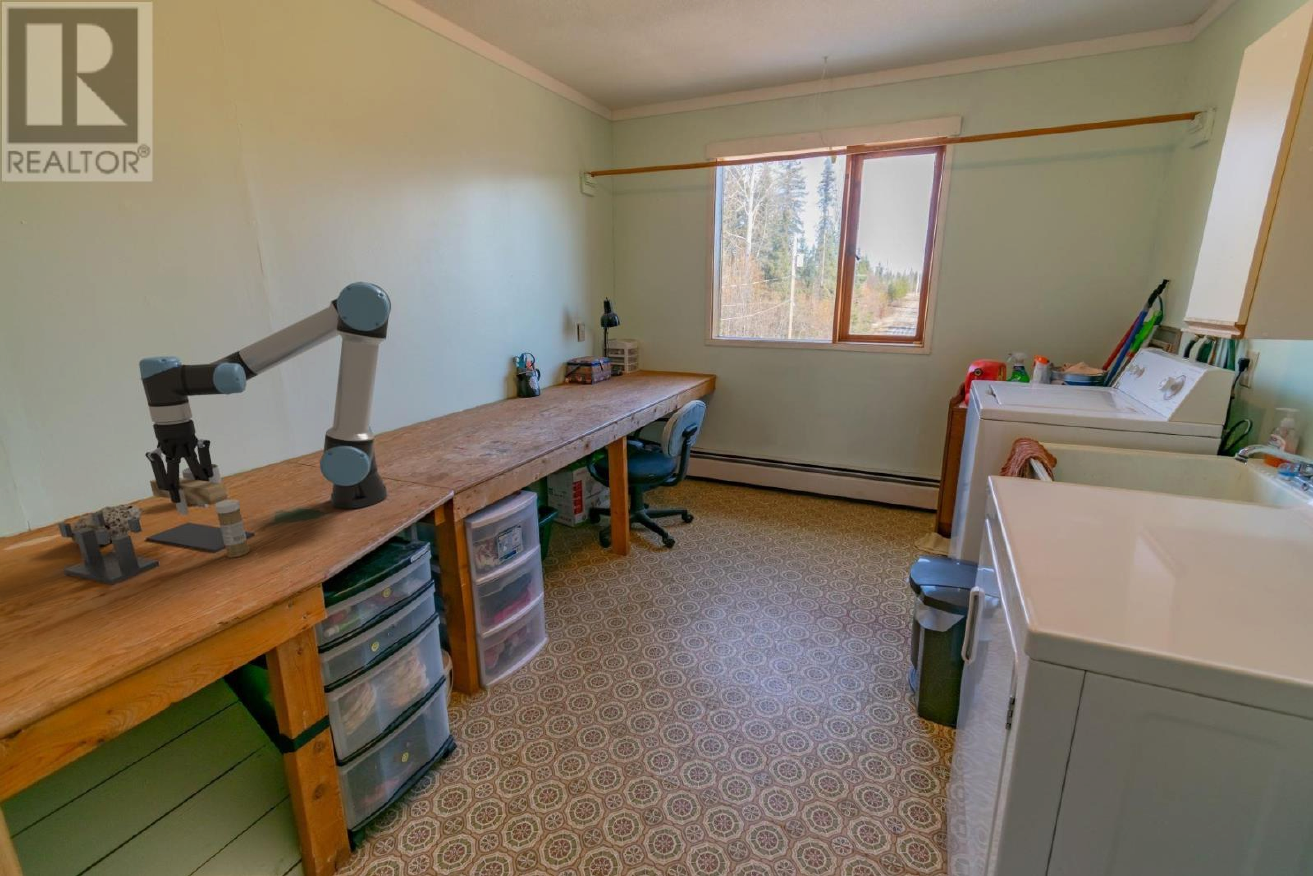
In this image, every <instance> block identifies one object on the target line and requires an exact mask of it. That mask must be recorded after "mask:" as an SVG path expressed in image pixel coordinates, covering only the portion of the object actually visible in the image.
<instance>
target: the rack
mask: <svg viewBox="0 0 1313 876" xmlns="http://www.w3.org/2000/svg"><path fill="white" fill-rule="evenodd" d="M90 514H91V515H92V518H93V521H94V525H95V526H99V527H102V526H105V525H106V524H105V520H104V517H103V513H98V512H97V511H96V512H91V513H90ZM128 524H129V528H130V530H129V531H130V533H134V534H139V533H140V532H143V530H142V526H141V522H140V520H139V519H135V518H131V519H128ZM57 526H58V529H59V532H60V535H61V537H62V538H67V539H68V538H70V537H72V536H73V532H72V529H71V526H72V525H71V524H70V523H69V522H68V523H67V522H61V523H58V524H57ZM95 533H96V535H95ZM75 534H76V538H77V541H78V543H77V544H78V547H79V550H80V554H81V556H82V560H83V562H80V563H78V564H75V565H72V566H70V567H67V568H64V569H63V573H64V575H66V576H69V577H70V576H71V577H76V578H81V579H83V580H84V579H85V580H89V581H95V582H99V583H103V582H104V583H105V584H108V583H109V584H108V585H112V584H113V586H114V585H116V584H115V583H117V584H119V583H121V582H124V581H126V580H128V578H129V579H131V578H133V577H135V576H138V575H140V574H142V572H143V573H145V572H147V571H149V570H152V569H154V568H156V567H159V566H160V562H159V560H156V559H151V558H146V557H142V556H137V555H136V552H135V551H136V550H135V548H134V545H133V541H132V538H131V535H129V534H124V535H121V536H118V537H115V538H113V539H111V540H110V539H109V536H108V533H107V530H104V529H99V530H96V531H94V529H90V528H87V529H84V530H81V531H78V532H75ZM96 537H97V538H96ZM97 540H98V541H97ZM111 542H112V546H113V549H114V551H109V552H107V553H105V554H102V552H101V549H100V545H105V546H106V545H108V544H110V543H111ZM98 543H99V544H98ZM139 573H140V574H139ZM130 577H131V578H130ZM118 582H119V583H118ZM104 583H103V584H104Z"/></svg>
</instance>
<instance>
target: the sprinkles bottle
mask: <svg viewBox="0 0 1313 876" xmlns="http://www.w3.org/2000/svg"><path fill="white" fill-rule="evenodd" d="M214 508H215V513H216V515H217V517H218V521H219V526H220V527H219V528H221V532H222V536H223V540H224V544H225V547H226V548H225V552H226V557H228V558H238V557H243V556H245V555H246V554H248V553H249V552H250V547H249V543H248V541H247V539H246V534H245V532H246V530H245V526H244V522H243V518H242V514H241V506H240V502H239V500H237V499H226V500H224V501H221V502H218V503H215V504H214Z"/></svg>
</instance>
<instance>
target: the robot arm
mask: <svg viewBox="0 0 1313 876" xmlns="http://www.w3.org/2000/svg"><path fill="white" fill-rule="evenodd" d="M391 310H392V303H391V299H390V297H389V295H388V294H387V292H386V291H385V290H384V289H383V288H381V287H380V286H378V285H376V284H375V283H372V282H362V281H356V282H353V283H350V284H348V285H346V286H345V287H344V288H343V289H342V290H341V291H340V293H339V295H338V296H337V298H335V299H333V300H331V301H330V302H329V306H328V307H325V308H324V309H322V310H320V311H318V312H315V313H314V314H311V315H309V316H307V317H304V318H303V319H300V320H299V321H296V322H294V323H293V324H290V325H288V326H286V327H285V328H281V329H280V330H278V331H277V332H276V331H275V332H274V333H272V334H270V335H269V336H266V337H264V338H261V339H260V340H257V341H255V342H254V343H251V344H249V345H246V347H243V348H240V349H239V350H237V351H235V352H232V353H231V354H229V355H226V356H224V357H223V358H220V359H218V360H215V361H213V362H209V363H204V364H202V363H201V364H199V363H198V364H183V363H182V362H181V361H180V358H179V357H177V356H153V357H146V358H143V359H141V360H140V361H139V363H138V365H139V371H140V373H139V374H140V380H141V382H142V385H143V390H144V394H145V396H146V401H147V406H148V411H149V414H150V417H151V421H152V422H153V425H152V427H153V431H154V436H155V438H156V441H157V445H156V448H155V449H154V450H152V451H147V452H146V453H145V454H144V455H145V457H146V458H147V460H148V461H149V462H150V465H151V468H152V471H153V475H154V478H155V479H156V483H157V486H158V489H159V490H165V491H169V493H170V497H171V498H170V500H171V502H172V503H173V504H175V507H176V510H177V511H176V512H177V515H178V514H179V515H183V516H184V515H189V514H190V512H189V508H188V503H187V501H186V499H185V494H184V490H183V489H179V478H180V464H181V463H182V459H184V460H185V462H186V464H187V466H188V468H190V470H191V472H192V474H193V476H194V478H195V480H199V481H206V482H208V481H209V478H211V477H213V475H214V474H213V469H212V464H213V463H212V458H211V451H210V446H211V440H209V439H199V438H198V437H197V436H196V428H195V424H194V420H193V419H191V418H193V413H192V409H191V405H190V400H189V397H191V396H193V397H194V396H209V395H210V396H211V395H214V396H215V395H231V394H241V393H242V392H245V390H246V387H247V382H248V381H249V380H251V379H253V378H255V377H257V376H259V375H260V374H262V373H266V371H269V370H271V369H273V368H275V367H277V366H279V365H282V364H283V363H285V362H287V361H289V360H291V359H293V358H296V357H297V356H299V355H302V354H304V353H305V352H307V351H309V350H311V349H313V348H316V347H318V346H320V345H322V344H323V343H325V342H328V341H329V340H332V339H334V338H336V337H337V336H340V337H341V350H340V358H339V368H338V377H337V385H336V386H337V387H336V393H335V395H336V396H335V404H334V412H333V413H334V414H333V422H332V426H331V427H330V428H329V429H326V431H325V435H324V444H323V451H322V452H323V453H322V455H321V457H320V460H319V466H320V467H319V468H320V472H321V473H322V475H323V477H324V478H325V479H326V480H327V481H328V482H330V483H332V492H331V494H330V502H331V505H332V507H334V508H337V509H358V508H365V507H369V506H372V505H375V504H378V503H380V502H382V501H384V500H386V499H387V497H388V489H387V487H386V485H385V484H384V482H383V479H382V478H381V476H380V474H379V471H378V464H377V457H376V451H375V445H374V440H375V436H374V433H373V431H372V430H373V429H372V428H371V426H370V420H371V414H372V413H371V412H372V404H373V395H374V389H375V380H376V371H377V365H378V363H377V362H378V354H379V348H380V347H379V346H380V344H381V343H382V342H384V341H385V340H387V335H388V328H389V327H388V326H389V317H390V314H391ZM196 447H197V452H196ZM162 454H163V455H164V456H165V459H164V460H163V455H162ZM164 461H165V463H166V467H165V463H164ZM155 479H154V480H155ZM197 507H198V508H205V509H207V508H209V504H203V503H197Z"/></svg>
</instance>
